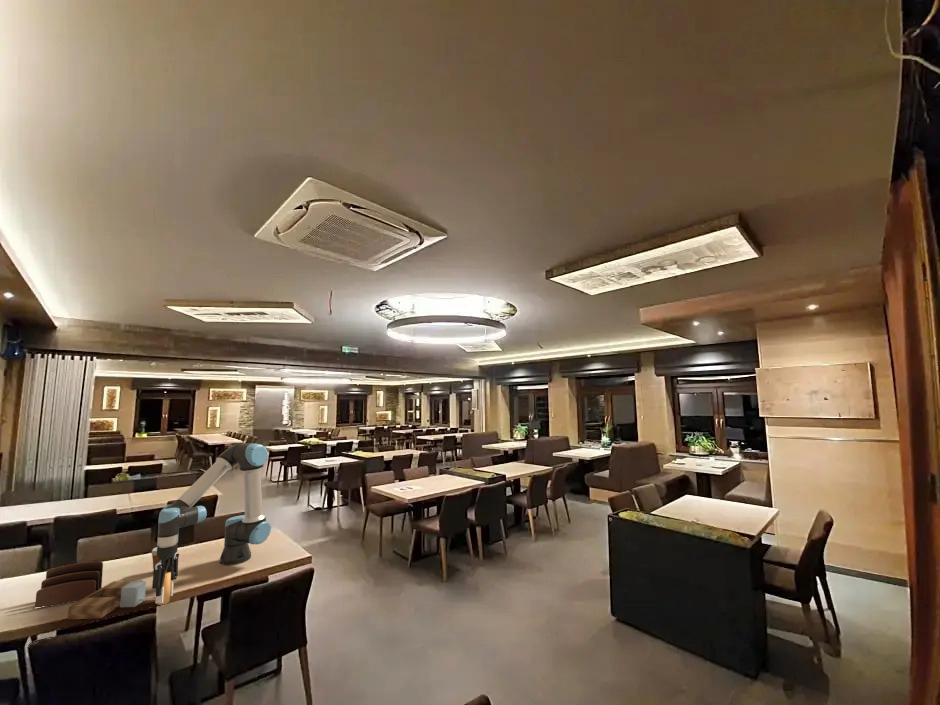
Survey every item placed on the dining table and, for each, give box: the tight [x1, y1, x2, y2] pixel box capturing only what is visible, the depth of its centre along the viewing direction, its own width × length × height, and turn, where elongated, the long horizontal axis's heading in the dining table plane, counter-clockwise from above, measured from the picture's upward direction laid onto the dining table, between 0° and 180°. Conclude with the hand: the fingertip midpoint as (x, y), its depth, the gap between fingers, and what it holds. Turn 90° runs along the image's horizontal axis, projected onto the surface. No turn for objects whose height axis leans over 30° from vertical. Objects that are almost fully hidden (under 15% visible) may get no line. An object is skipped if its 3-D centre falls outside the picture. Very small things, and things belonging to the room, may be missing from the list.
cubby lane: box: [67, 580, 144, 620], centre depth 179 cm, size 13×22×5 cm, turn 3°
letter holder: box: [34, 560, 104, 608], centre depth 185 cm, size 10×20×14 cm, turn 118°
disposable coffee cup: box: [150, 546, 167, 572], centre depth 212 cm, size 10×10×12 cm
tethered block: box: [119, 572, 171, 608], centre depth 180 cm, size 18×6×12 cm, turn 93°
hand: (164, 599), depth 180 cm, fingers open, 5 cm apart
